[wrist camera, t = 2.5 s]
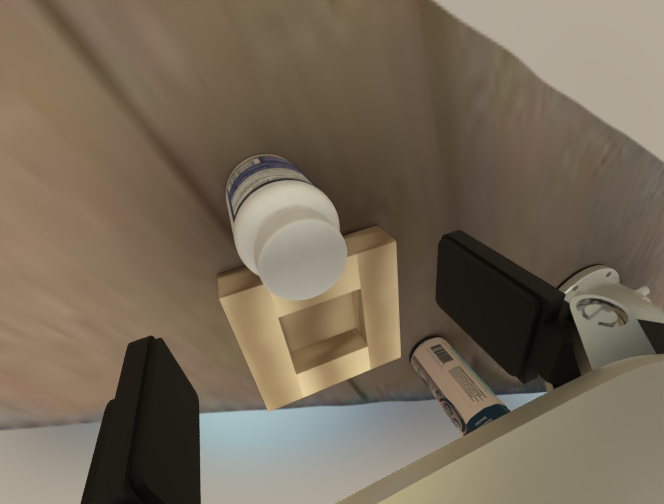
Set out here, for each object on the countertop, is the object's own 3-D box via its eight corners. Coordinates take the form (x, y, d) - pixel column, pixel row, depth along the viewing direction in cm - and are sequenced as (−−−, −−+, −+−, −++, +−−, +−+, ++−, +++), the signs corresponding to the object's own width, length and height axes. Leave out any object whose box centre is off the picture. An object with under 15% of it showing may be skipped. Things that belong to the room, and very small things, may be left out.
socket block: (377, 225, 26) (396, 241, 23) (385, 335, 33) (400, 356, 30) (217, 274, 23) (219, 298, 21) (263, 383, 30) (268, 411, 28)
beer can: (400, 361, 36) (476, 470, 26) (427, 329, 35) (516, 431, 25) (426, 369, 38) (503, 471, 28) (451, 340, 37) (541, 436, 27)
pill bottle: (303, 226, 24) (355, 305, 16) (228, 232, 22) (243, 324, 14) (306, 152, 21) (370, 201, 13) (221, 151, 19) (235, 207, 11)
